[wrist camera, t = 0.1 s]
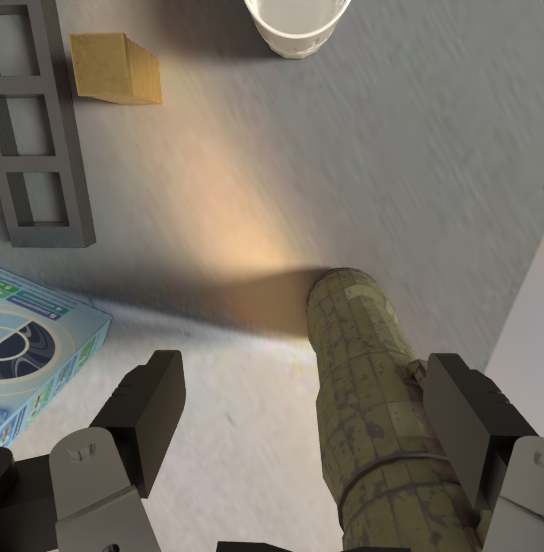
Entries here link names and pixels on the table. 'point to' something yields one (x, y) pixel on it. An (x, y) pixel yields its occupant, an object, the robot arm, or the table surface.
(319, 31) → the white cup
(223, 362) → the table surface
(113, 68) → the golden rectangular block
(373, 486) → the thermos
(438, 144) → the table surface
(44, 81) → the grey compartment tray
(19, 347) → the gum box
